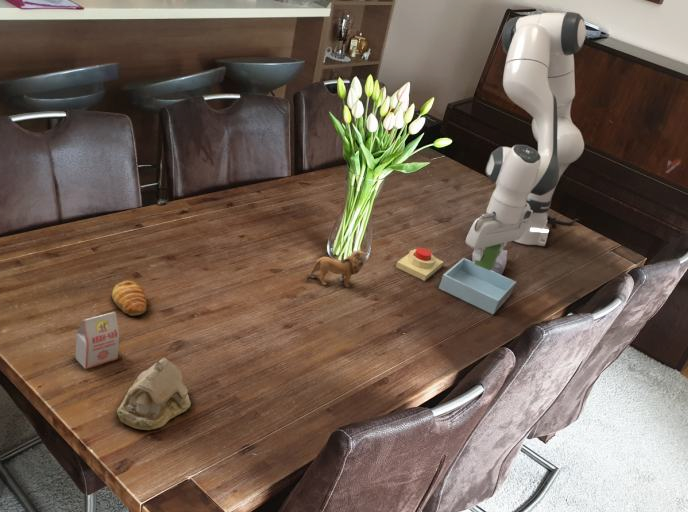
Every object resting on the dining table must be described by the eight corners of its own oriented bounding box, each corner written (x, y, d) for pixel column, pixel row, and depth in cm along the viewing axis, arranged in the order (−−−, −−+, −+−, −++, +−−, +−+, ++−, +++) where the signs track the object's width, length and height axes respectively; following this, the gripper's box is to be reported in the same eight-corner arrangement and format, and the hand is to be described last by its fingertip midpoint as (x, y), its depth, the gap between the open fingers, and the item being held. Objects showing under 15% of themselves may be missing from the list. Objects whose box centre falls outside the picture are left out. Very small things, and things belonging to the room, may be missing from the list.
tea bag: (75, 358, 144) (77, 315, 139) (107, 348, 149) (110, 306, 143) (85, 369, 142) (87, 325, 137) (117, 359, 147) (120, 316, 141)
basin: (458, 270, 213) (463, 257, 211) (511, 295, 208) (516, 281, 206) (438, 288, 201) (443, 274, 199) (493, 314, 197) (498, 300, 194)
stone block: (470, 272, 218) (505, 276, 216) (472, 256, 215) (507, 260, 214) (472, 256, 228) (505, 260, 226) (474, 241, 225) (508, 245, 224)
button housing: (413, 253, 215) (417, 243, 213) (441, 266, 212) (445, 256, 210) (395, 267, 206) (398, 256, 204) (424, 281, 203) (428, 269, 201)
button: (418, 251, 210) (420, 246, 209) (432, 258, 208) (434, 252, 207) (411, 256, 206) (413, 250, 205) (425, 263, 205) (427, 257, 204)
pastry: (153, 315, 161) (155, 301, 159) (122, 319, 158) (123, 304, 156) (139, 292, 167) (140, 277, 165) (108, 295, 164) (109, 280, 162)
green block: (478, 258, 202) (485, 238, 199) (494, 264, 201) (501, 245, 198) (474, 264, 199) (481, 244, 195) (490, 270, 198) (497, 250, 195)
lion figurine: (355, 276, 196) (363, 246, 191) (362, 287, 192) (371, 257, 187) (302, 275, 190) (309, 244, 185) (308, 287, 186) (316, 255, 181)
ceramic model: (145, 376, 145) (149, 334, 139) (198, 397, 143) (205, 355, 138) (105, 418, 133) (108, 373, 128) (162, 441, 132) (168, 397, 126)
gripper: (489, 221, 183) (470, 270, 191) (537, 211, 196) (518, 257, 204) (470, 209, 186) (452, 257, 194) (518, 200, 200) (500, 246, 207)
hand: (486, 257), depth 199 cm, fingers closed on green block, 6 cm apart
